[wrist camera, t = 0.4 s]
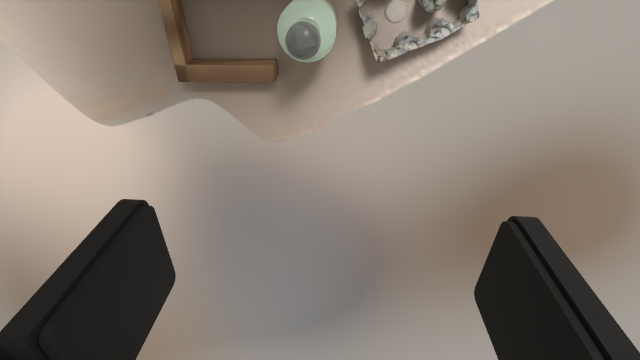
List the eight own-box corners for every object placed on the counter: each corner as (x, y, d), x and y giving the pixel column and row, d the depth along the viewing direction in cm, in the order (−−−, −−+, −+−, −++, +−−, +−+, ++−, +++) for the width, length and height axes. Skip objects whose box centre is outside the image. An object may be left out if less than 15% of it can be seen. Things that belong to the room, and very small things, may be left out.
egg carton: (370, 56, 37) (373, 67, 34) (350, -18, 33) (351, -14, 30) (471, 21, 35) (485, 29, 31) (462, -64, 31) (477, -65, 27)
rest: (158, -46, 32) (146, -46, 30) (267, -48, 32) (262, -47, 30) (186, 74, 39) (178, 81, 37) (277, 75, 39) (274, 82, 37)
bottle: (284, -9, 34) (267, 5, 25) (337, -10, 33) (336, 4, 25) (288, 45, 37) (273, 74, 28) (336, 45, 36) (335, 74, 28)
